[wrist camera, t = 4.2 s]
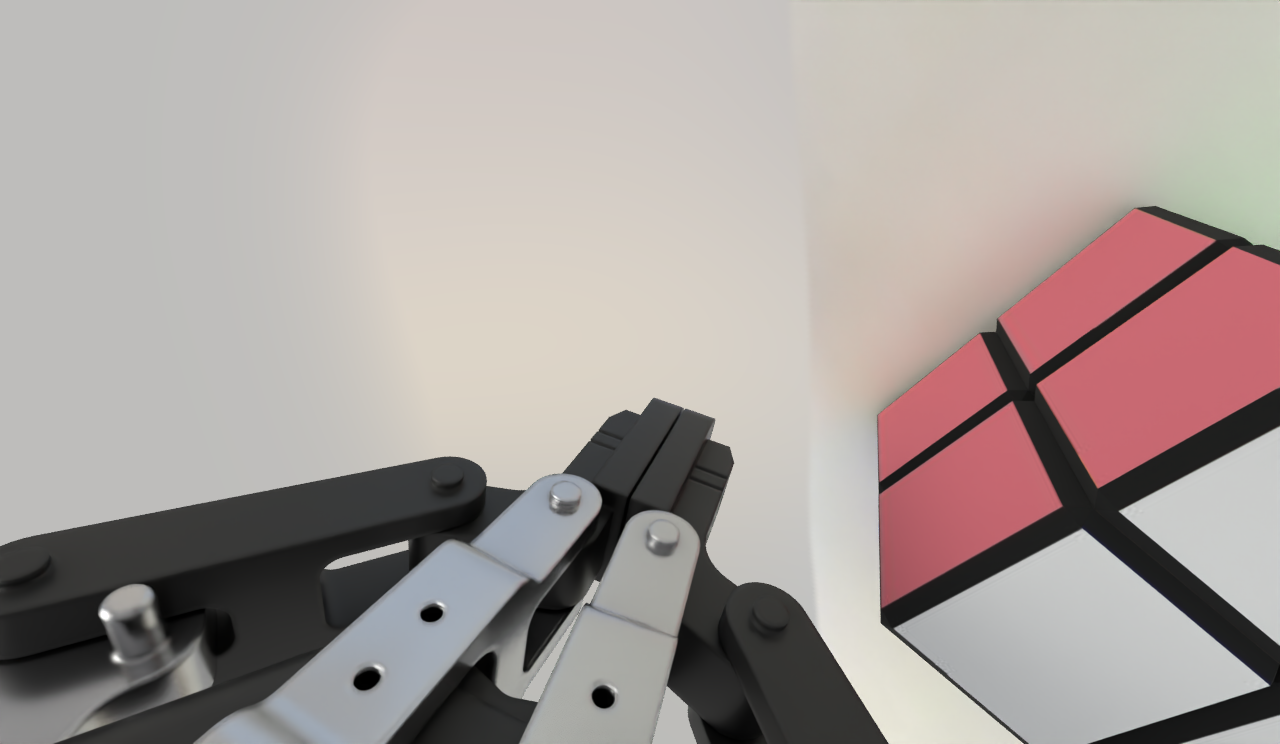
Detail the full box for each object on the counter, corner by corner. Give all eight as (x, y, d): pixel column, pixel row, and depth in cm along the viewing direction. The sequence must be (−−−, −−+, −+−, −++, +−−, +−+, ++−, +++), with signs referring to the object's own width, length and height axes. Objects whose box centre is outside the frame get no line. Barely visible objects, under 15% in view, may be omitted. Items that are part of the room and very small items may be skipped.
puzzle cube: (870, 416, 21) (869, 626, 13) (1141, 196, 16) (1456, 302, 7) (1078, 589, 21) (1218, 919, 12) (1422, 427, 16) (2071, 807, 7)
